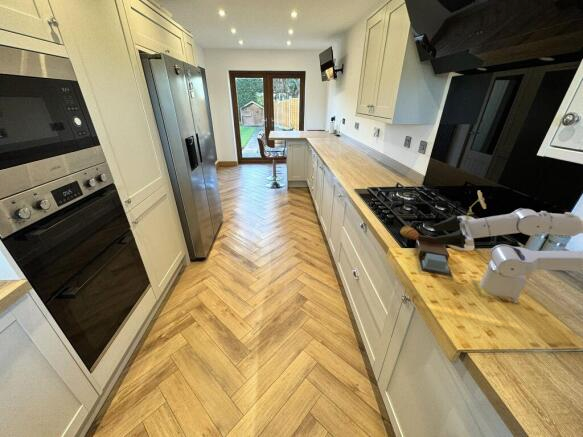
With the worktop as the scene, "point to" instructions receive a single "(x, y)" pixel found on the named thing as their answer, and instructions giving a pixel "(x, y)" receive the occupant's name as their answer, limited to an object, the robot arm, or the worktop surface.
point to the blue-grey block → (435, 263)
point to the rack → (431, 252)
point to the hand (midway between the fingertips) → (434, 234)
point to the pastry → (409, 233)
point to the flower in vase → (481, 200)
